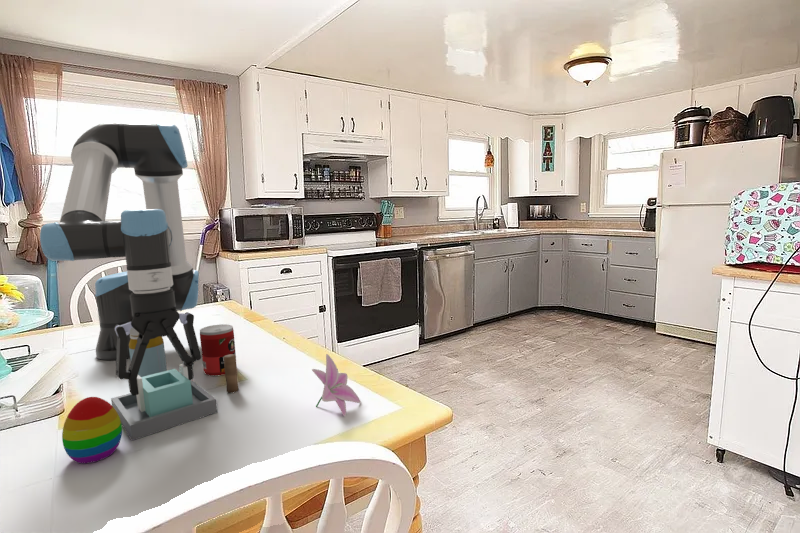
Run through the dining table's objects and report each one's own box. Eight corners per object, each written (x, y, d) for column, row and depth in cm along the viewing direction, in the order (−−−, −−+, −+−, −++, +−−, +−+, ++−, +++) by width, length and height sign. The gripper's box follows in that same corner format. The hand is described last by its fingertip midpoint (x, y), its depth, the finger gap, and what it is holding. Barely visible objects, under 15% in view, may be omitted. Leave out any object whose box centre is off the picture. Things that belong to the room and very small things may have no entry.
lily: (314, 434, 81) (337, 390, 80) (283, 393, 89) (303, 352, 87) (359, 428, 91) (380, 388, 89) (327, 391, 98) (347, 354, 96)
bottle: (174, 380, 107) (168, 319, 105) (150, 392, 100) (142, 327, 98) (152, 378, 109) (145, 318, 107) (126, 389, 103) (118, 325, 101)
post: (225, 390, 100) (221, 356, 99) (236, 387, 101) (232, 353, 100) (229, 394, 98) (226, 358, 97) (240, 390, 100) (237, 355, 99)
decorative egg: (52, 466, 72) (44, 407, 71) (97, 440, 80) (90, 386, 79) (94, 471, 70) (86, 410, 69) (135, 444, 78) (129, 389, 77)
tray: (112, 411, 91) (111, 398, 91) (189, 389, 101) (188, 377, 101) (132, 440, 79) (130, 425, 79) (217, 412, 89) (216, 398, 89)
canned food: (225, 377, 108) (221, 332, 107) (196, 375, 110) (192, 332, 108) (243, 365, 116) (239, 324, 114) (215, 364, 117) (211, 323, 116)
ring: (150, 418, 83) (147, 392, 83) (135, 400, 92) (132, 376, 91) (193, 405, 88) (190, 381, 88) (175, 389, 97) (172, 366, 96)
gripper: (92, 301, 77) (108, 427, 80) (212, 284, 90) (223, 392, 93) (85, 295, 82) (101, 413, 85) (199, 280, 96) (209, 382, 99)
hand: (164, 402), depth 89 cm, fingers closed on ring, 7 cm apart
